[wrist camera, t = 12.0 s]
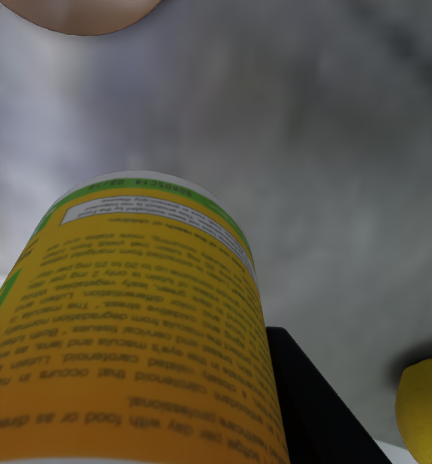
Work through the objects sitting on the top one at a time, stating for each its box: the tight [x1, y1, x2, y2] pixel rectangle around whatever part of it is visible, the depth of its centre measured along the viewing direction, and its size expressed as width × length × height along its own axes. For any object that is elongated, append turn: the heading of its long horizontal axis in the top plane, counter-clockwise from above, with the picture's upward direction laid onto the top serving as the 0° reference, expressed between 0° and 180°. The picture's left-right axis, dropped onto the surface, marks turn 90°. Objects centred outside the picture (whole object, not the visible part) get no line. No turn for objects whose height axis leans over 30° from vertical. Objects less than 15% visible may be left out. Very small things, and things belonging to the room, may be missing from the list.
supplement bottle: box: [0, 171, 290, 464], centre depth 6 cm, size 5×5×10 cm
